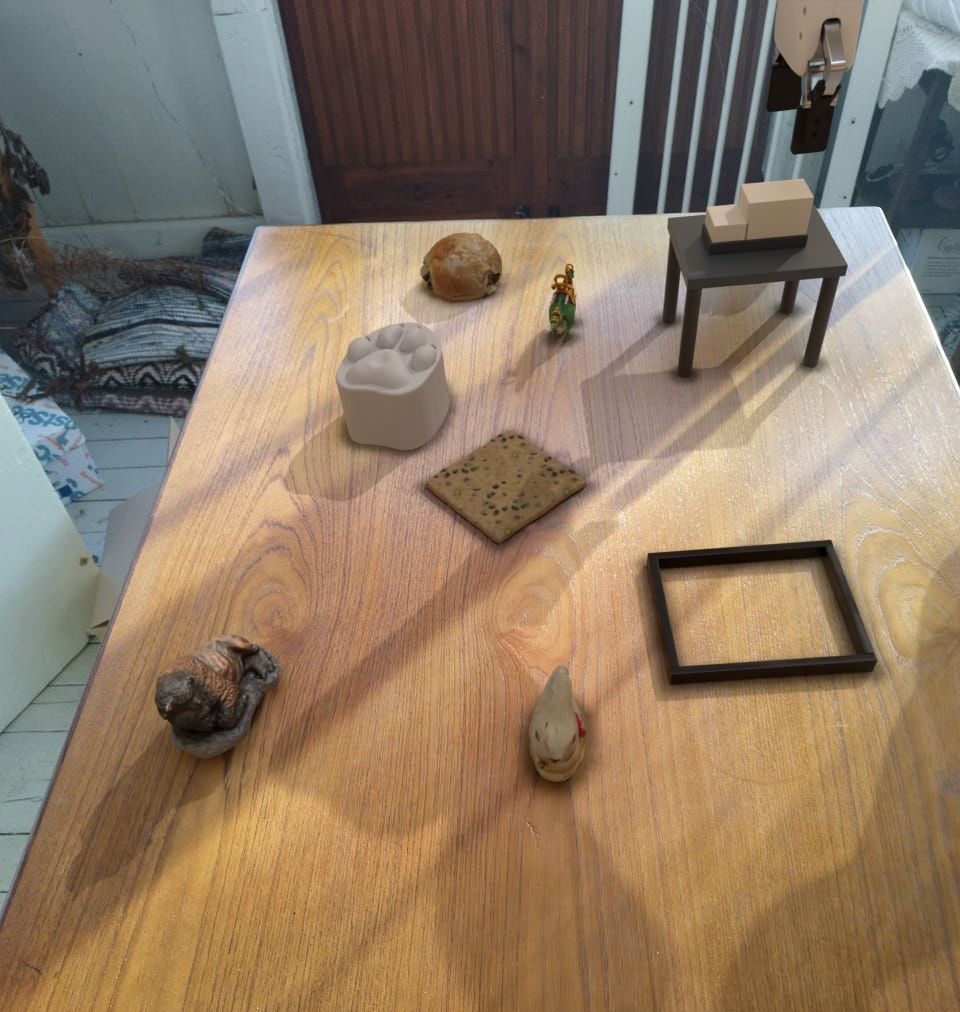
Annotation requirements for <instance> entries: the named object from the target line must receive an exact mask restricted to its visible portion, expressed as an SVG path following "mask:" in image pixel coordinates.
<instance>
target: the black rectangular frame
mask: <svg viewBox="0 0 960 1012" xmlns="http://www.w3.org/2000/svg"><path fill="white" fill-rule="evenodd" d="M818 558H821V561H822V563H823V566H824V569H825V572H826V574H827V577H828V580H829V582H830V585H831V587H832V590H833V593H834V595H835V598H836V601H837V604H838V606H839V609H840V613H841V614H842V618H843V621H844V623H845V626H846V629H847V631H848V634H849V637H850V640H851V642H852V645H853V648H854V651H855V653H856V654H846V655H845V654H843V655H831V656H817V657H816V656H815V657H802V658H801V657H800V658H784V659H770V660H756V661H755V660H754V661H739V662H738V661H737V662H723V663H709V664H695V665H694V664H693V665H680V662H679V661H680V660H679V656H678V651H677V647H676V642H675V637H674V632H673V627H672V622H671V618H670V612H669V608H668V602H667V599H666V598H667V597H666V594H665V590H664V584H663V579H662V574H661V570H666V569H680V568H694V567H709V566H722V565H723V566H724V565H735V564H750V563H764V562H778V561H789V560H791V561H792V560H805V559H818ZM646 569H647V574H648V579H649V583H650V584H649V585H650V589H651V594H652V599H653V604H654V609H655V614H656V620H657V625H658V631H659V635H660V641H661V646H662V651H663V656H664V661H665V666H666V671H667V676H668V682H669V685H683V684H684V685H685V684H699V683H715V682H729V681H745V680H761V679H775V678H777V679H778V678H791V677H805V676H806V677H807V676H820V675H821V676H822V675H836V674H851V673H867V672H873V671H874V670H875V667H876V665H877V663H878V658H877V655H876V653H875V650H874V647H873V644H872V642H871V639H870V637H869V635H868V634H869V633H868V632H867V629H866V626H865V624H864V621H863V618H862V616H861V613H860V611H859V608H858V606H857V603H856V600H855V597H854V595H853V592H852V590H851V588H850V585H849V581H848V580H847V576H846V574H845V572H844V570H843V567H842V564H841V561H840V559H839V556H838V554H837V551H836V549H835V545H834V543H833V541H832V539H821V540H808V541H794V542H793V541H792V542H779V543H769V544H768V543H767V544H764V543H763V544H752V545H751V544H750V545H739V546H725V547H711V548H698V549H697V548H696V549H686V550H685V549H684V550H683V549H682V550H670V551H657V552H647V556H646Z"/></svg>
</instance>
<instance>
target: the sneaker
mask: <svg viewBox="0 0 960 1012" xmlns="http://www.w3.org/2000/svg"><path fill="white" fill-rule="evenodd" d="M737 199H738V200H737V203H734V204H724V205H713V206H712V205H711V206H707V207H706V209H705V210H706V211H705V215H706V218H705V223H703V224H702V232H701V235H702V237H703V240H704V243H705V245H706V248H707V251H708V254H709V255H716V254H727V253H738V252H749V251H761V250H772V249H783V248H794V247H805V246H806V244H807V239H808V234H807V228H808V223H809V218H810V214H811V209H812V205H814V199H815V197H814V195H813V193H812V191H811V189H810V187H809V185H808V183H807V182H806V181H805V179H804V178H794V179H784V180H783V179H782V180H772V181H763V182H751V183H740V185H739V193H738V198H737Z"/></svg>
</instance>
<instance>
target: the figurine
mask: <svg viewBox="0 0 960 1012" xmlns="http://www.w3.org/2000/svg"><path fill="white" fill-rule="evenodd" d="M574 267H575V266H574V265H573V264H572V263H567V264H566V265H565V268H564V273H557V274H556V275H554V277H553V282H554V283H552V284H551V285H550V288H551V289H552V290H553V291H554V292H553V293H552V298H551V301H550V302H549V303H550V305H549V308H548V319H549V324H550V330H551V335H552V338H553V340H554V341H556V339H557V338H558V337H559V335H560V333H559V332H558V331H557V330H556V326H557V325H558V323H559V324H562V323H563V322H564V321H565V323H566V329H565V332H566V333H565V341H569V339H571V338H573V334H571V333H570V331H571V328H572V327H573V325H574V324H575V323H577V322H576V320H575V317H576V310H577V300H576V299H577V296H578V295H577V294H578V293H577V292H575V288H574V281H573V279H574V278H575V270H574ZM558 279H563V281H561V282H558Z"/></svg>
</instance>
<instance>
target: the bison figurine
mask: <svg viewBox="0 0 960 1012" xmlns="http://www.w3.org/2000/svg"><path fill="white" fill-rule="evenodd" d="M281 668H282V666H281V663H280V661H279V660H278V659H277V657H275V655H274V654H272V652H271V651H270V650H268V649H267V648H265V647H264V646H261V645H258V644H257V643H251V642H250V641H249V640H248V639H247V638H246V637H242V636H241V635H238V634H231V633H224V634H220V635H218V636H213V637H211V638H210V639H208V640H206V641H204V642H203V643H202V644H201V645H200V647H199V648H197V649H196V650H194V651H192V652H191V653H188V654H186V655H184V656H179V657H177V658H176V659H173V660H172V661H170V662H169V663H168V664H167V665H166V666H164V667H163V669H162V670H161V671H160V673H159V675H158V676H157V679H156V682H155V693H154V703H155V707H156V709H157V712H158V713H159V715H160V717H161V719H163V720H164V721H167V722H168V723H169V724H170V726H171V734H170V738H169V742H170V744H172V745H173V746H174V747H176V748H178V749H179V750H181V751H184V752H186V753H188V754H190V755H191V756H194V757H196V758H197V759H203V760H206V759H212V758H215V757H218V756H219V755H221V754H224V753H225V752H226V751H229V750H230V749H233V748H235V747H236V746H237V745H239V744H240V743H241V742H243V741H244V740H245V739H246V737H247V736H248V735H249V733H250V730H251V723H252V719H253V716H254V714H255V711H256V710H257V709H256V708H257V706H258V705H259V704H260V702H261V700H262V699H263V698H264V695H265V694H266V693H267V692H268V691H270V690H271V689H272V688H274V687H277V684H278V679H279V675H280V672H281Z"/></svg>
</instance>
